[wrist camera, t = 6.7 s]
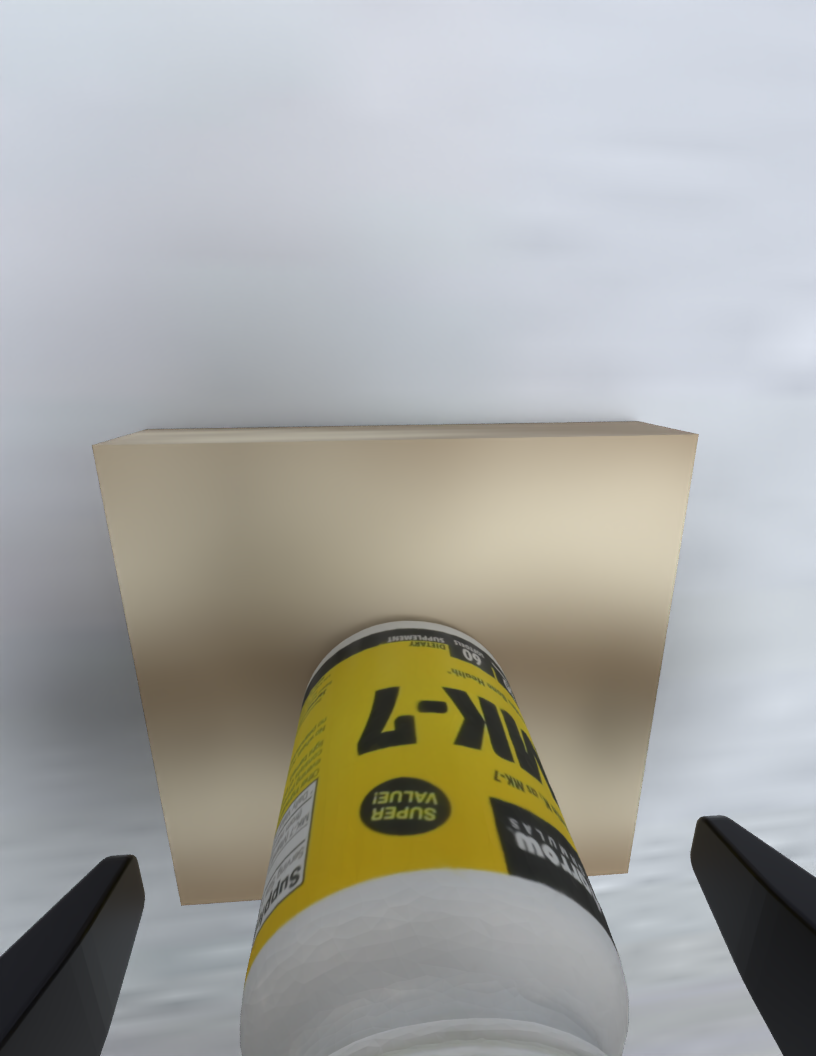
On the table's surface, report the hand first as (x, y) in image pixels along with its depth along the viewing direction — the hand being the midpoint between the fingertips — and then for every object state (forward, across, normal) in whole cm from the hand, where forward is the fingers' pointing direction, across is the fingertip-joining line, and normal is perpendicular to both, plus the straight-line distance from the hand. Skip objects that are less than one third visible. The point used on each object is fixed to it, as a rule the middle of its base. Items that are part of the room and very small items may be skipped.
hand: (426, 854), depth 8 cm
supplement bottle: (+4, 0, 0) cm, 4 cm away
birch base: (+6, 0, 0) cm, 6 cm away
